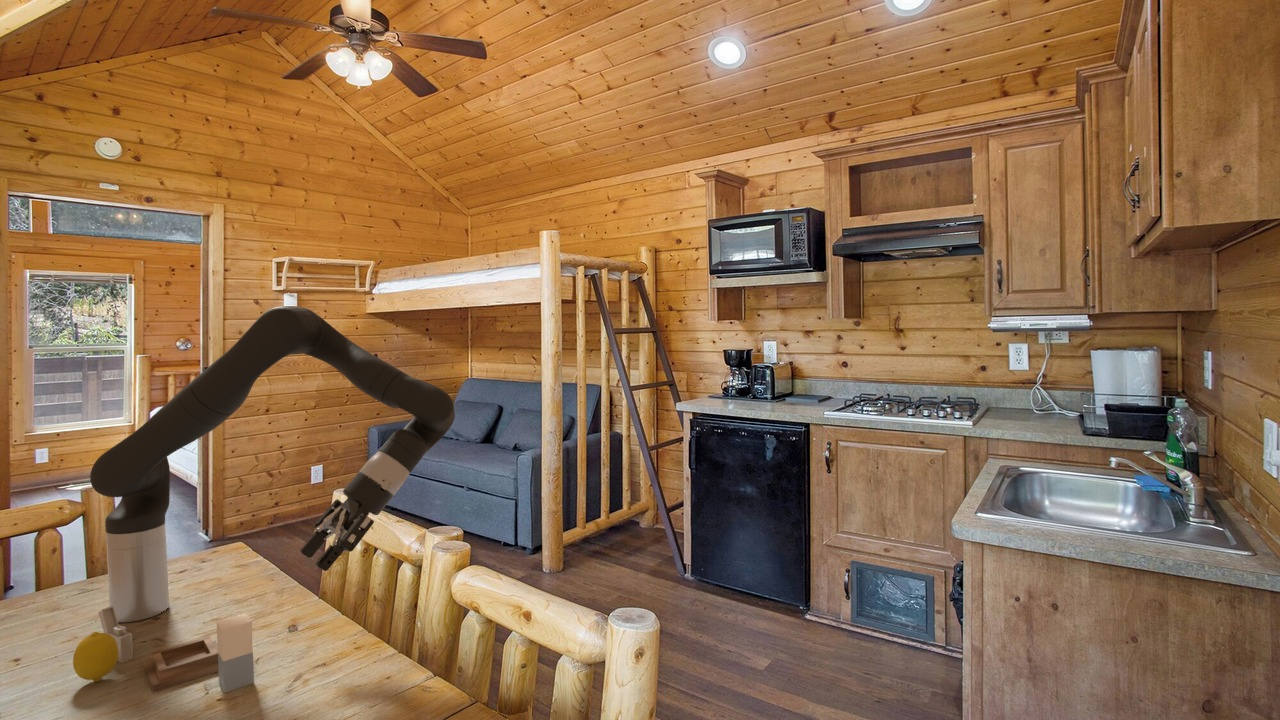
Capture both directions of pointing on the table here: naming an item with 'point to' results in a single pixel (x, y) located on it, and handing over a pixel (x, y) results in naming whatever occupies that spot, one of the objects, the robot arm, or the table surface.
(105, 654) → the lemon
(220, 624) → the brick block
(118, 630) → the lighter
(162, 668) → the socket board
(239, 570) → the table surface
